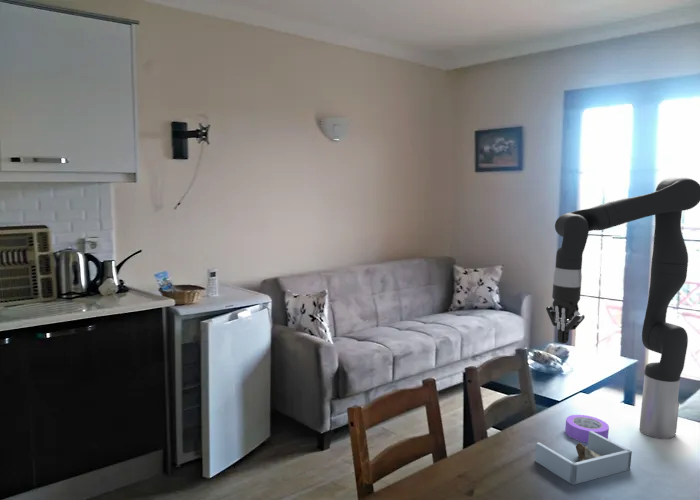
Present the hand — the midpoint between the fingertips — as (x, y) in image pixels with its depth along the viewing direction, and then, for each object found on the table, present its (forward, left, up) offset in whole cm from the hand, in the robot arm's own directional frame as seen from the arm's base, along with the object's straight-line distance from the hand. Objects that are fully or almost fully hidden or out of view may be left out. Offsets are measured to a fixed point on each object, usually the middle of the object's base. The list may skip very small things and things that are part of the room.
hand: (562, 342), depth 170 cm
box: (+9, +18, -27) cm, 34 cm away
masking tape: (-7, +5, -28) cm, 29 cm away
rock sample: (+6, +18, -27) cm, 33 cm away
